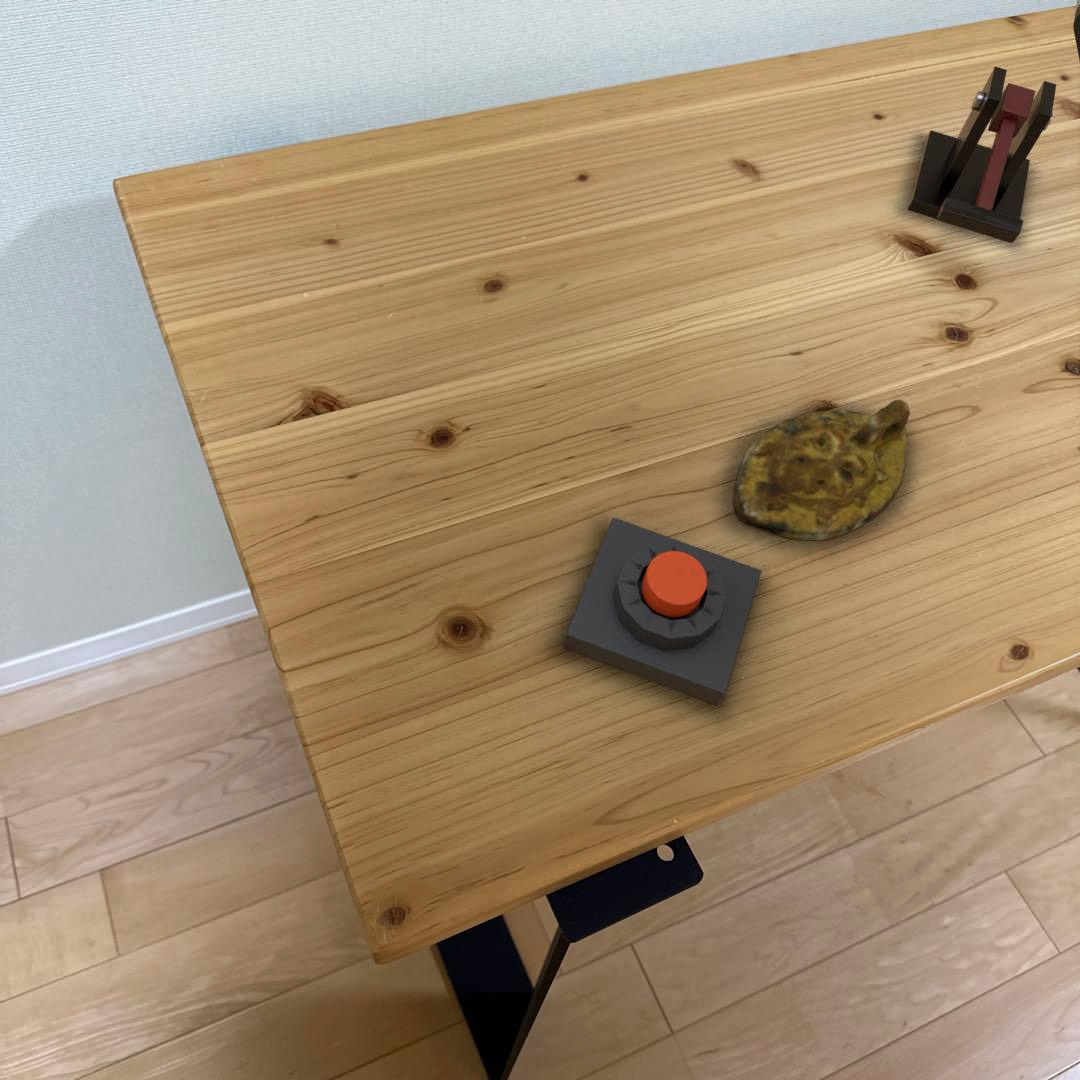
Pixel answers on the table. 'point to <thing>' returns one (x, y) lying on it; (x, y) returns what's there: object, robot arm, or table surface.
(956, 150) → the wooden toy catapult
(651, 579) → the button
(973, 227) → the dark red t-shaped bar
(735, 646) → the button box
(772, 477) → the olive oval piece
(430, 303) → the table surface
